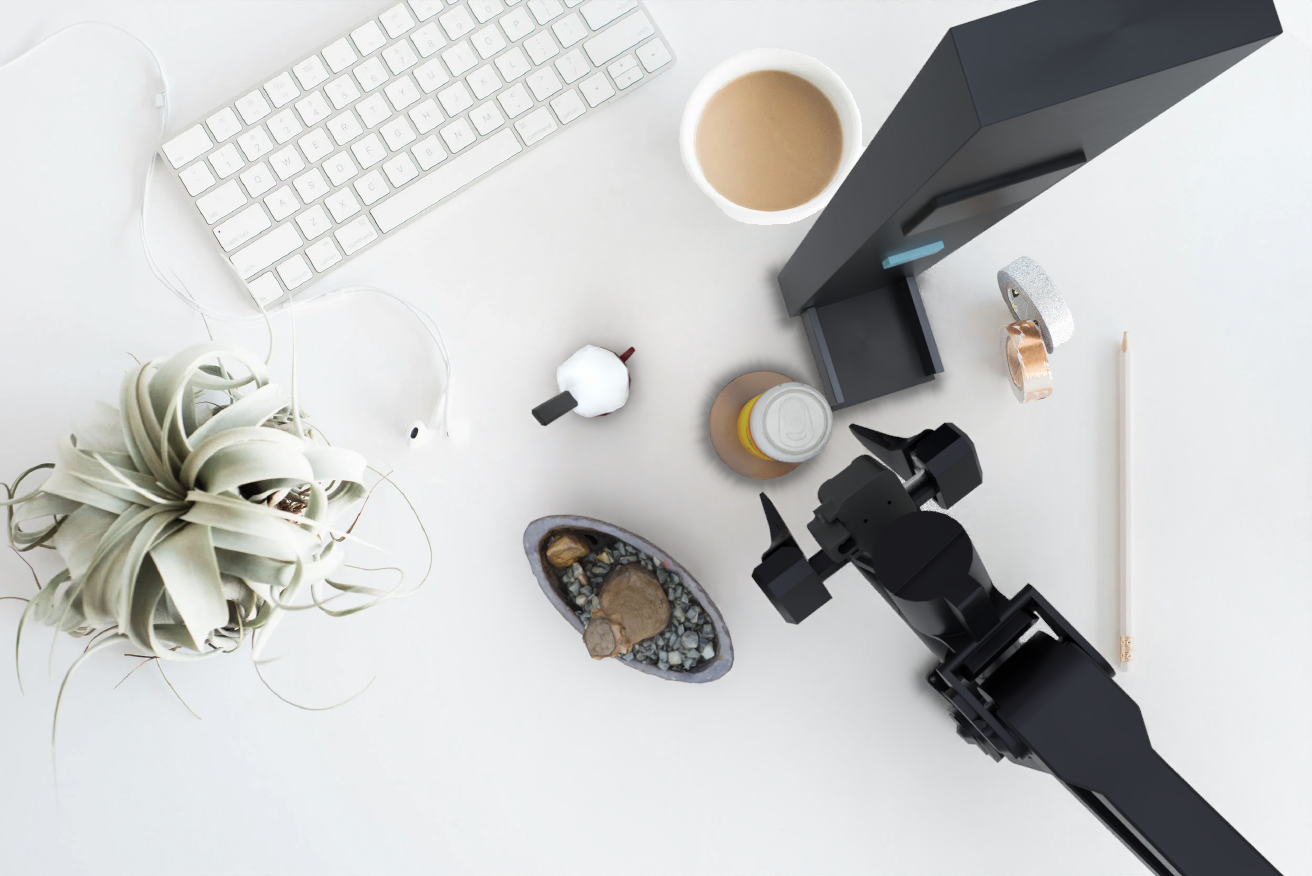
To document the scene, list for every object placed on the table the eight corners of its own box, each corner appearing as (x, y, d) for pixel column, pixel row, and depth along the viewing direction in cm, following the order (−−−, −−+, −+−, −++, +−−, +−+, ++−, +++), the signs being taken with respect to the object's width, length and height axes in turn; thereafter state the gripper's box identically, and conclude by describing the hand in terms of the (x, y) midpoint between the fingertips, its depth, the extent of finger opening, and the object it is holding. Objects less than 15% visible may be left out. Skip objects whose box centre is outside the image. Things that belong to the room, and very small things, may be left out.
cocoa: (631, 338, 77) (626, 318, 65) (652, 402, 77) (651, 393, 65) (534, 371, 77) (511, 357, 65) (556, 434, 77) (537, 432, 65)
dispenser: (943, 376, 77) (1362, 271, 31) (820, 415, 77) (1058, 367, 31) (899, 238, 77) (1252, -68, 31) (776, 276, 77) (949, 27, 31)
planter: (536, 509, 77) (493, 531, 57) (716, 496, 77) (736, 514, 57) (548, 669, 77) (509, 747, 57) (728, 656, 77) (752, 730, 57)
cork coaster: (766, 501, 77) (766, 501, 77) (686, 428, 77) (687, 428, 77) (838, 421, 77) (839, 421, 77) (759, 349, 77) (760, 348, 77)
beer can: (739, 462, 77) (758, 466, 62) (733, 397, 77) (750, 385, 62) (804, 456, 77) (840, 458, 62) (798, 391, 77) (832, 377, 62)
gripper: (1025, 441, 52) (871, 327, 63) (786, 624, 51) (675, 477, 63) (1045, 530, 59) (905, 414, 71) (837, 689, 59) (730, 548, 70)
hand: (806, 461), depth 68 cm, fingers open, 9 cm apart
